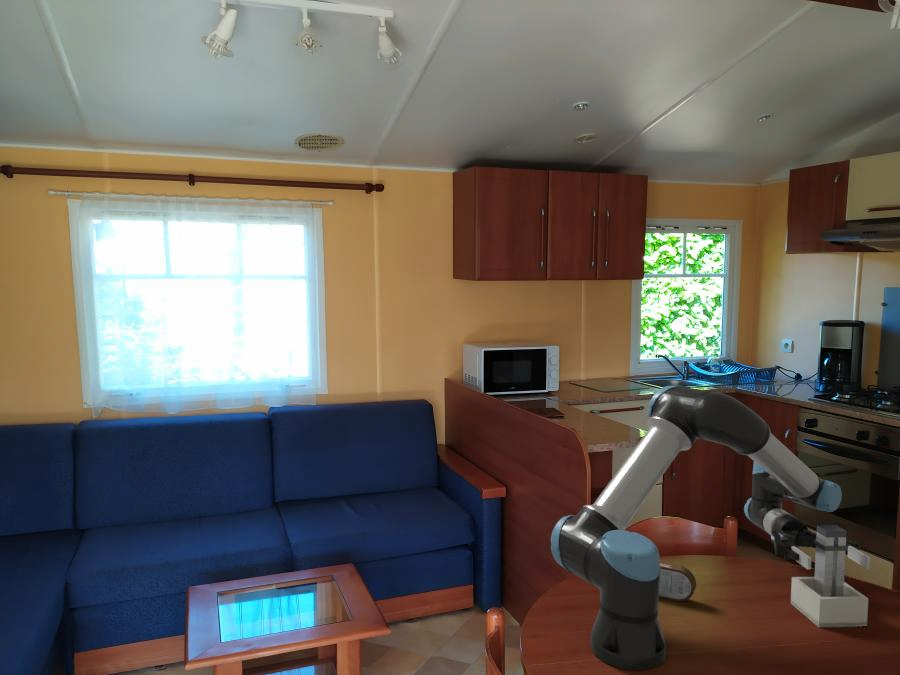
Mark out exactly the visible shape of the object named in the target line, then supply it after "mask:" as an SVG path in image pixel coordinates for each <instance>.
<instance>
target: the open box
mask: <svg viewBox="0 0 900 675" xmlns="http://www.w3.org/2000/svg"><path fill="white" fill-rule="evenodd" d="M790 585H791V586H790V587H791V589H790V605H792V606H793V607H794V608H796V609H797V611H799V612H800V613H801V614H802V615H803V616H805V617H806V618H807V619H808V620H809V621H811V622H812V623H813V624H814V625H815V626H816V627H817V628H855V627H856V628H858V626H859V627H860V628H861V627H862V626H868V614H869V613H868V611H869V597H867V596H865V595H864V594H862V592H860V591H858V590H857V589H856V588H854V587H853V586H851V585H850V584H848V583H847V582H846V581H844V588H843V597H821V596H820V595H819V594H817V593H816V592H815V591H814V576H792V577H791V584H790Z"/></svg>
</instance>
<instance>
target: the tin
mask: <svg viewBox="0 0 900 675" xmlns="http://www.w3.org/2000/svg"><path fill="white" fill-rule="evenodd" d="M659 562H660V581H659V598H661V597H662V599H665V598H666V599H667V600H670V601H675V602H685V601H688V600H689V599H691V598H692V597H693V595H694V593H695V590H696V588H697V580H696V578H695V575H694V574H693V573H692V571H691V570H690V569H689V568H687V567H685V566H683V565H680V564H676V563H670V562H667V561H666V562H665V561H661V560H659Z"/></svg>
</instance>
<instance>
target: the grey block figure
mask: <svg viewBox="0 0 900 675" xmlns="http://www.w3.org/2000/svg"><path fill="white" fill-rule="evenodd" d="M816 533H817V535H816V540H814V544H815V545H816V548H815V559H814V576H813V577H814V591H815V592H816V593H817V594H819V595H820V596H821V597H843V588H844V582H845V567H846V555H845V551H848V546H846V540H847V530H845V529H844V528H842V527H840V526H838V525H837V524H834V525H833V524H829V525H828V524H827V525H826V524H824V525H823V524H822V525H821V524H820V525H819V524H818V525H816Z"/></svg>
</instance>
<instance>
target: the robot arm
mask: <svg viewBox="0 0 900 675" xmlns="http://www.w3.org/2000/svg"><path fill="white" fill-rule="evenodd" d="M648 406H649V408H648V409H647V416H648V419H647V420H646V421H647V422H646V424H647V428H648V429H647V431H646V432H645V434H644V435H643V436H642V438H641V440H640V441H639V442H638V443H637V444H636V446H635V448H634V449H633V450H632V451H631V452H630V454H629V455H628V457H627V458H626V460H625V461H624V462H623V463H622V465H621V466H620V468H619V469H618V470H617V472H616V473H615V474H614V475H613V477H612V479H610V481H609V482H608V483H607V485H606V486H605V488H604V489H603V490H602V492H601V493H600V494H599V495H598V497H597V498H596V499H595V501H594V502H593V504H585V505H583V506H582V507H581V508H580V510H579V511H578V513H577V514H576V515H572V514H568V515H567V516H566V515H565V516H563V517H561V518H560V519H559V520H558V521H557V522H556V523H555V526H554V527H553V529H552V531H551V534H550V535H551V536H550V543H551V545H550V550H551V554H552V558H554V560H555V561H556V563H557V564H558V565H559V566H561V567H562V568H564V569H565V570H566V572H568V573H571V574H573V575H575V576H577V577H579V578H580V579H581V580H584V581H586V582H587V583H589V584H590V585H592V586H594V587H596V588H598V589H599V609H598V613H597V616H596V618H595V620H594V624H593V626H592V629H591V631H590V638H589V639H590V642H589V643H590V649H591V651H592V653H593V654H594V655H595V656H596V657H597V658H598V659H600V660H601V661H603V662H604V663H606V664H608V665H611V666H612V667H616V668H620V669H623V670H629V671H646V670H647V671H648V670H653V669H655V668H658V667H659V666H661V665H662V664H663V663H664V662H665V660H666V659H667V658H666V657H667V643H666V640H665V637H664V634H663V630H662V627H661V623H660V620H659V601H660V600H659V599H660V597H659V581H660V562H659V561H660V552H659V549H658V547H657V546H656V544H655V543H654V542H653V541H652V540H651V539H649V538H648V537H646V536H644V535H643V534H641V533H638V532H635V531H632V532H631V531H629V530H625V528H626V527H627V526H628V525H629V523H630V522H631V520H632V519H633V517H634V516H635V515H636V514H637V512H638V510H639V509H640V508H641V506H642V505H643V503H644V502H645V501H646V500H647V498H648V497H649V495H650V494H651V492H652V491H653V489H654V488H655V486H656V485H657V484H658V482H659V481H660V480H661V478H662V477H663V476H664V474H665V472H666V471H667V470H668V468H669V467H670V465H672V463H673V461H674V460H675V459H676V457H677V456H678V455H679V453H680V452H682V451H683V452H684V451H685V452H686V451H689V450H690V449H691V448H692V446H694V444H695V442H696V441H697V440H698V439H699V440H701V441H702V440H703V441H706V442H707V441H708V442H713V443H716V444H719V445H723V446H725V447H726V446H727V447H728V448H731V449H732V450H733V451H735V452H736V453H737V454H739V455H743V456H747V457H749V459H751V460H752V461H753V465H752V466H753V467H752V473H751V474H752V478H751V484H752V485H751V497H749V498H748V499H747V501H746V503H745V504H744V508H743V511H744V515H745V516H746V518H747V519H748V520H749V521H750V522H751V523H752V524H753V525H754V526H756V527H758V528H760V529H761V530H762V531H764V532H765V533H767V534H768V535H770V541H771V543H772V544H773V546H774V553H775V556H778V557H781V556H782V555H783V559H784V560H786V561H790V559H792V560H793V561H796V563H798V564H800V566H802V567H803V568H805V569H806V570H810V571H811V569H812V556H810V555H808V554H806V552H804V551H802V550H801V549H800V548H799V547H802V548H804V547H805V548H813V549H816V545H815V544H814V540H816V535H817V532H813V531H812V530H810V529H809V528H808V526H807V525H806V523H805V522H804V521H802V520H800V518H797V517H796V516H794V515H793V514H791V513H789V512H788V511H786V510H785V509H783V500H787V501H789V502H793V503H796V504H800V505H801V506H802V505H803V506H806V507H809V508H812V509H815V510H818V511H822V512H828V513H833V512H834V511H836V510H837V509H838V508H839V507H840V504H841V502H842V496H843V495H842V494H843V493H842V489H841V486H840V485H839V484H837V483H836V482H832V481H830V480H828V479H827V480H826V479H822V478H821V477H819V475H817V474H816V473H815V472H814V471H813V470H812V469H811V468H809V467H808V465H806V464H805V463H804V462H803V461H802V460H801V459H799V458H798V456H796V455H795V454H794V453H793V452H792V451H791V450H790V449H789V448H788V447H787V446H786V445H784V444H783V443H782V442H781V441H780V440H779V439H778V438H777V437H776V436H775V435H774V434H773V433H772V432H771V428H770V426H769V424H768V422H766V421H765V420H764V419H763V418H762V417H761V416H760V415H759V414H757V413H756V412H755V411H754V410H753V409H752V408H750V407H748V406H747V405H746V404H744V403H743V402H741V401H739V400H738V399H736V398H734V397H732V395H731V396H730V395H729V394H726V393H722V392H718V391H711V390H706V389H705V390H704V389H699V388H694V387H693V388H692V387H689V386H685V385H666V386H663V387H661V388H660V389H658V390H657V391H656V392H655V393H654V394H653V395H652V397H651V399H650V400H649V403H648ZM782 545H783V546H782ZM846 546H848V551H845V556H847V558H848V559H850V560H852V561H853V562H854V563H857V564H859V565H860V566H861V567H863V568H865V569H866V570H870V568H871V567H870V566H871V557H870V556H869V555H867V554H866V553H864V552H862V551H861V544H860V543H857V542H854V541H852V540H848V539H846Z"/></svg>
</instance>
